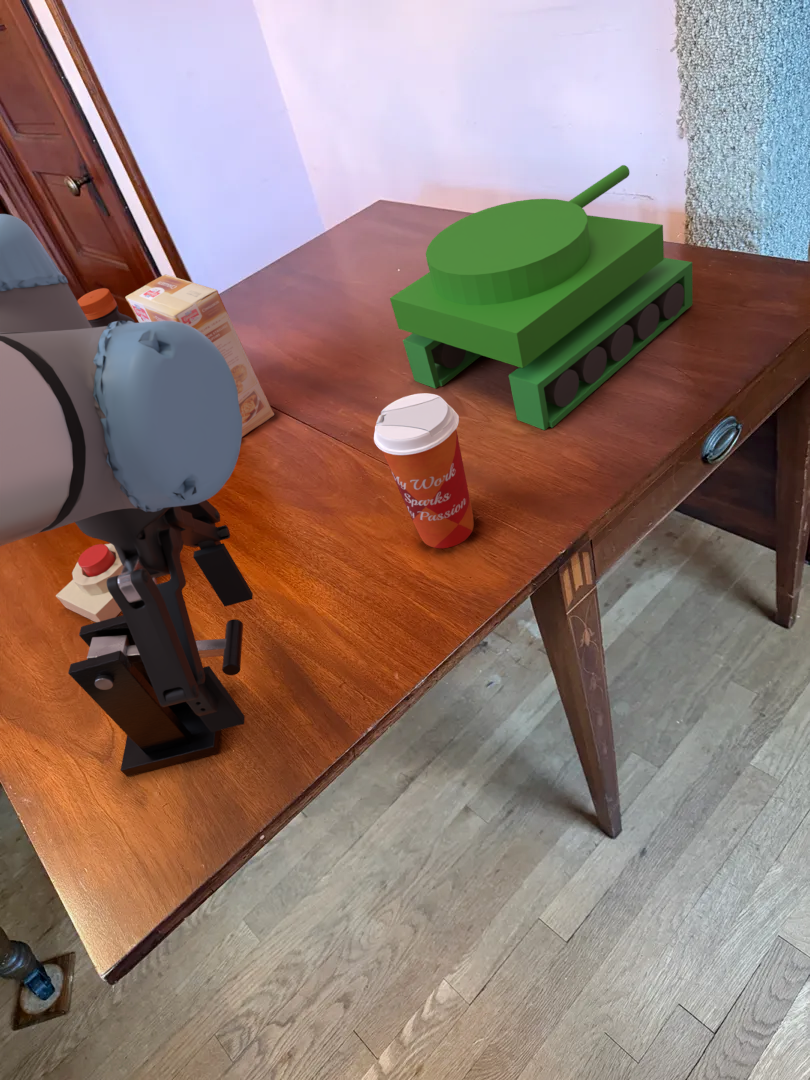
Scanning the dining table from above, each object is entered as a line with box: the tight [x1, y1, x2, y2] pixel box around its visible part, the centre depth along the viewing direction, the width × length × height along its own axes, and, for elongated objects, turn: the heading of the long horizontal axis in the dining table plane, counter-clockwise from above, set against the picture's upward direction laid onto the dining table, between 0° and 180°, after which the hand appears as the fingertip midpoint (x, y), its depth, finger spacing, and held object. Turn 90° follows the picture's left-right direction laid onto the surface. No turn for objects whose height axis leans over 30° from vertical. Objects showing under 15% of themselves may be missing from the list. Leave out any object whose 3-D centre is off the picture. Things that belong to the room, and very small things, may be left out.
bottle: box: [77, 287, 136, 328], centre depth 109 cm, size 7×7×20 cm
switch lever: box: [86, 619, 244, 676], centre depth 62 cm, size 12×5×2 cm, turn 97°
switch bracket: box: [67, 614, 222, 778], centre depth 65 cm, size 9×7×14 cm
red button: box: [77, 543, 115, 577], centre depth 85 cm, size 4×4×2 cm
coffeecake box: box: [125, 274, 275, 438], centre depth 104 cm, size 15×7×20 cm, turn 42°
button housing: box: [55, 543, 124, 623], centre depth 87 cm, size 10×8×4 cm
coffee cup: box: [373, 392, 475, 549], centre depth 75 cm, size 8×8×15 cm
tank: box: [389, 164, 694, 431], centre depth 96 cm, size 24×35×16 cm
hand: (234, 657), depth 63 cm, fingers open, 13 cm apart
